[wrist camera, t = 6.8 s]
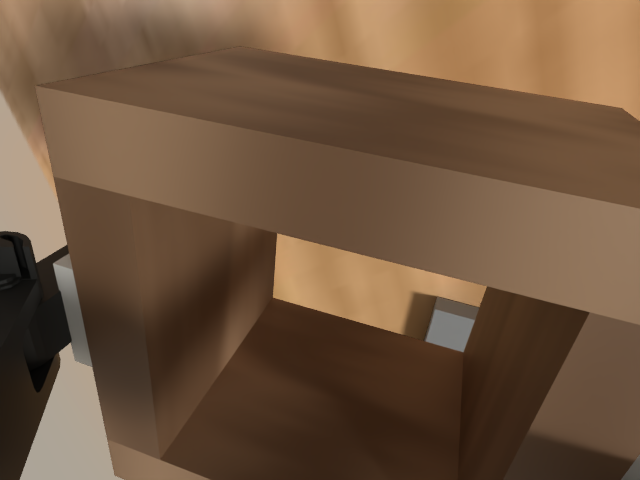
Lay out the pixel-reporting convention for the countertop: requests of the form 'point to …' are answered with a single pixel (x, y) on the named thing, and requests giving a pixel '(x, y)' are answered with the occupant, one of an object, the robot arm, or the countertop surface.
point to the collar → (359, 237)
